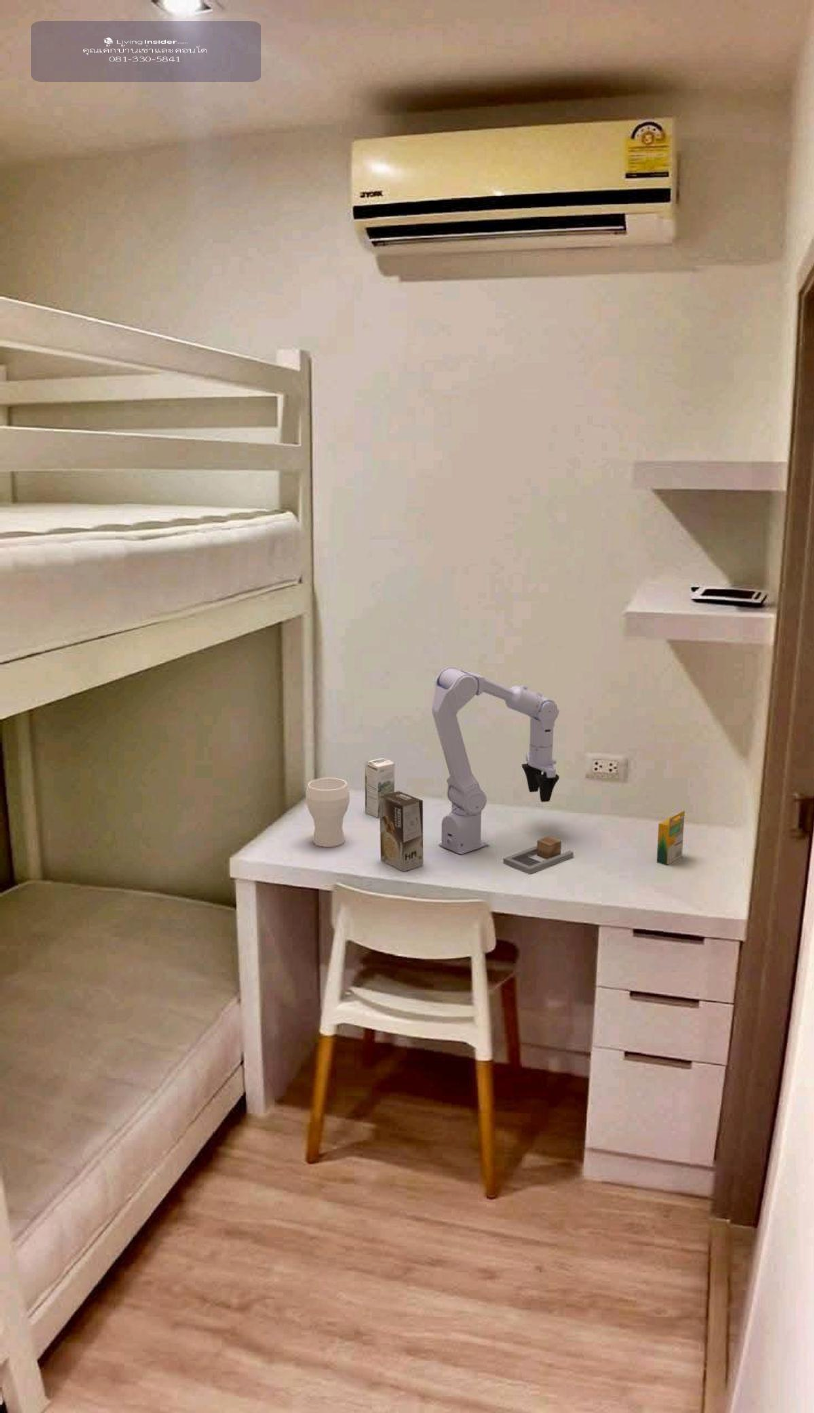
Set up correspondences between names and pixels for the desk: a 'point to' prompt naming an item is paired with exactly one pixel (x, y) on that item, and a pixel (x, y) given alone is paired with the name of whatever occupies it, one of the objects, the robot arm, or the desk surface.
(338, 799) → the cup
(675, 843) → the crayon box
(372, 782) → the syrup box
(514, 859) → the guide channel
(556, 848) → the walnut block
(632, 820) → the desk surface
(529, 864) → the pad
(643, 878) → the desk surface
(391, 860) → the coffee box
